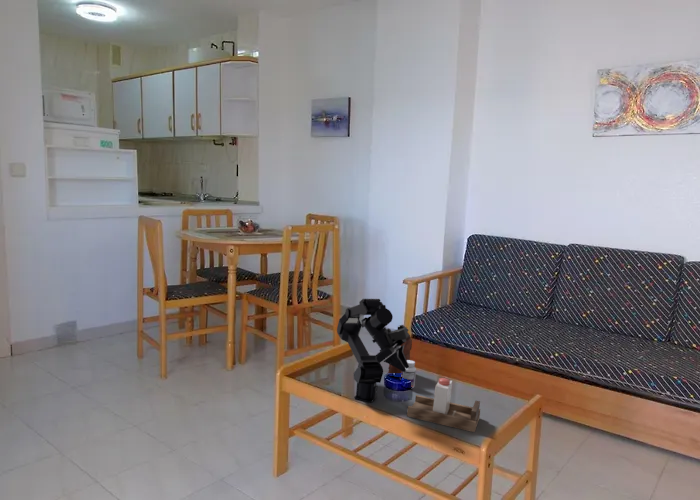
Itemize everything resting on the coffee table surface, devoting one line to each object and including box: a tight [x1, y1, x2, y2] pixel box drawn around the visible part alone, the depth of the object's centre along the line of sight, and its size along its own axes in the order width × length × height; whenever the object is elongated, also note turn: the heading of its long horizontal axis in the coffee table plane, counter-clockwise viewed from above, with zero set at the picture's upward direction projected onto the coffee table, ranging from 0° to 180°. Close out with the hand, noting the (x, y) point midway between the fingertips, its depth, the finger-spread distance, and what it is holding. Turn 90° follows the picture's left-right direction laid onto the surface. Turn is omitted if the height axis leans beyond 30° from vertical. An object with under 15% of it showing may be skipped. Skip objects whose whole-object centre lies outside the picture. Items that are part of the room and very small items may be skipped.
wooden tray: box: [406, 394, 481, 433], centre depth 169 cm, size 22×12×6 cm, turn 69°
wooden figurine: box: [387, 332, 413, 374], centre depth 207 cm, size 12×6×18 cm, turn 151°
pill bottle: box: [400, 360, 417, 389], centre depth 195 cm, size 5×5×10 cm
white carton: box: [433, 377, 453, 414], centre depth 169 cm, size 4×8×11 cm, turn 159°
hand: (406, 369), depth 173 cm, fingers open, 4 cm apart
